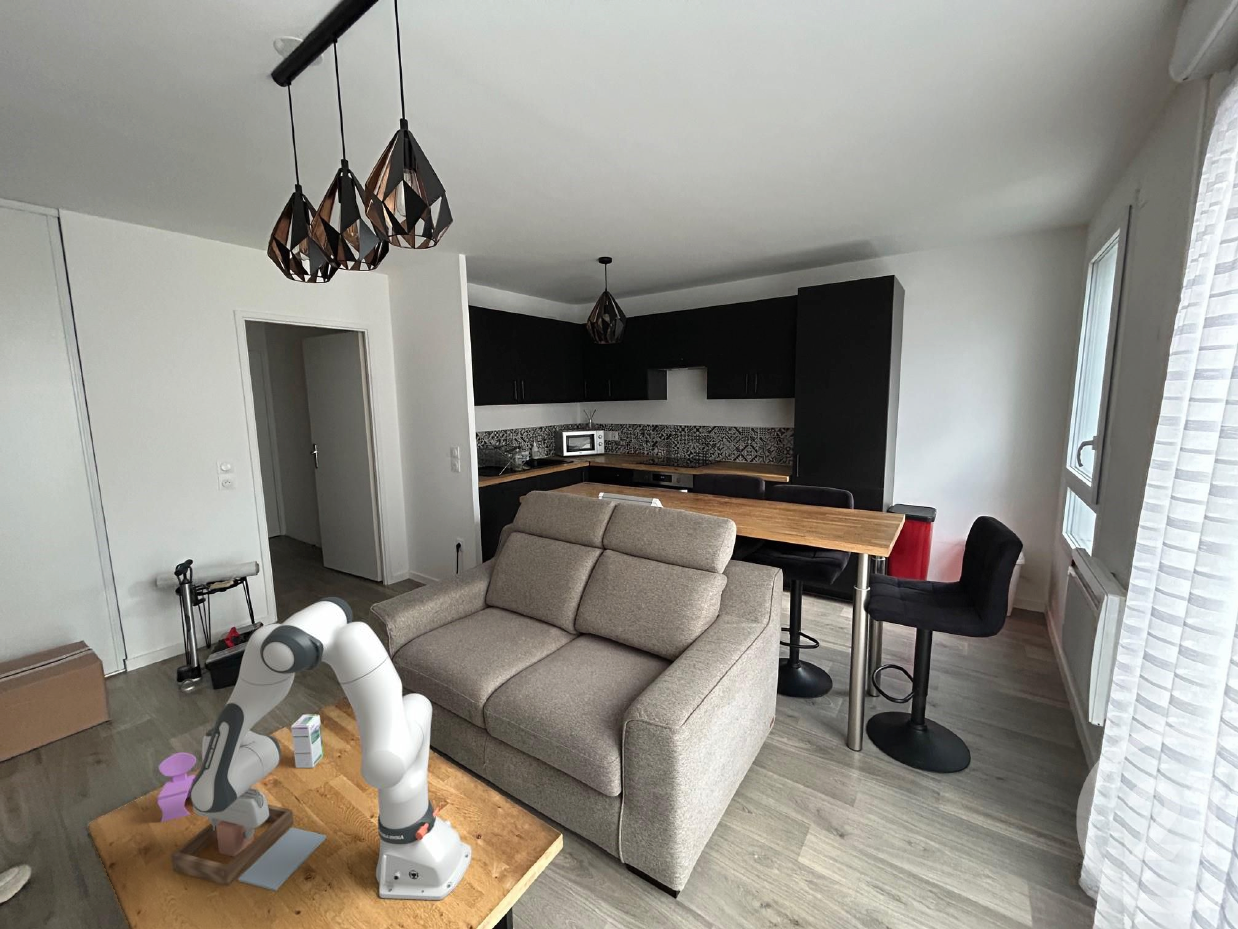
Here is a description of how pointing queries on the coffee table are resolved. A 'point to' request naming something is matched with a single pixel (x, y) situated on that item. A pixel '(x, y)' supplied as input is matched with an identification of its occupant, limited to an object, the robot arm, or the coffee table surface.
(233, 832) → the block
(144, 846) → the coffee table surface
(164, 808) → the toy chair
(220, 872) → the wooden frame
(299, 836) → the mat
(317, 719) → the syrup box
